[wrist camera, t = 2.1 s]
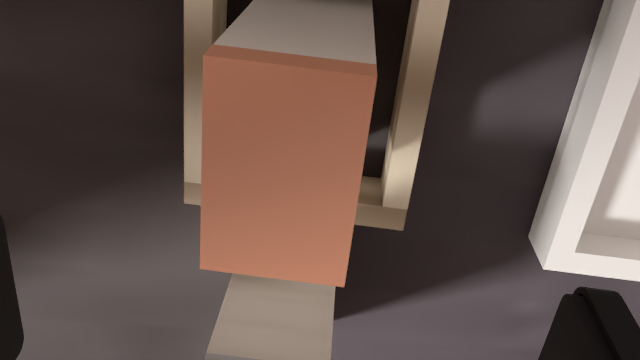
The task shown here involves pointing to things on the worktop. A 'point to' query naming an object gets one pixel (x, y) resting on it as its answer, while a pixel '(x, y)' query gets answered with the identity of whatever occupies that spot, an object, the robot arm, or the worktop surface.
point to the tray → (598, 160)
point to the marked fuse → (286, 138)
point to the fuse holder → (372, 208)
